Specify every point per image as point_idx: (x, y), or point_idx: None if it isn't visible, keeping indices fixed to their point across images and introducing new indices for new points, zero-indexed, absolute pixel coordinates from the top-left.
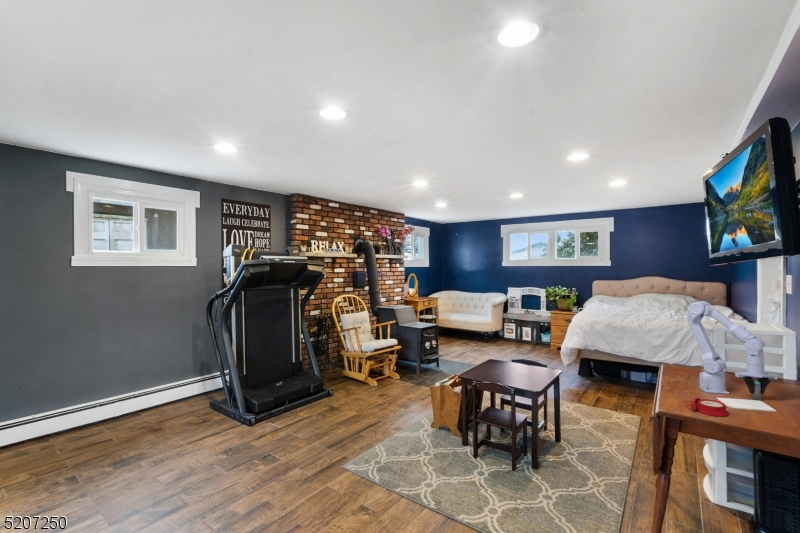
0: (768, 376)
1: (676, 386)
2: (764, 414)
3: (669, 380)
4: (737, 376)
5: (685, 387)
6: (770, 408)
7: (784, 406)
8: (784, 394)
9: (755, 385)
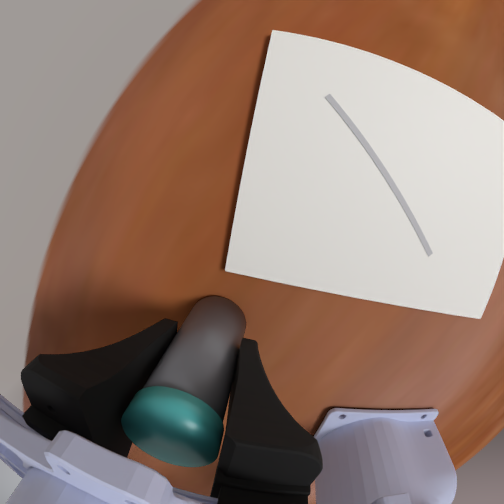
0: (1, 420)
1: (462, 447)
2: (391, 5)
3: None
4: (409, 500)
5: None
6: (285, 69)
7: (123, 165)
8: None
9: (207, 391)
